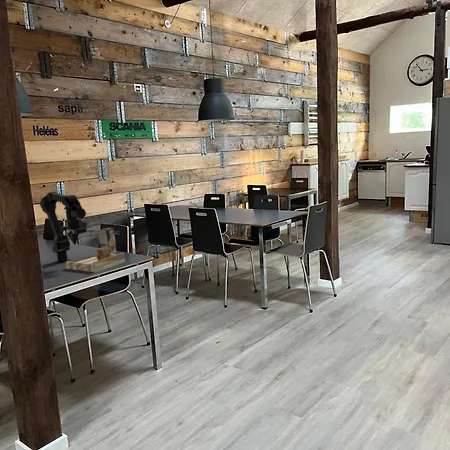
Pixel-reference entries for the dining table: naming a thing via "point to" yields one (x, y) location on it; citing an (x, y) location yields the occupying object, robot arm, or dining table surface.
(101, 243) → the coffee box
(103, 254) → the walnut block
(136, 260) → the dining table surface
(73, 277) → the dining table surface
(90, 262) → the trap lane
